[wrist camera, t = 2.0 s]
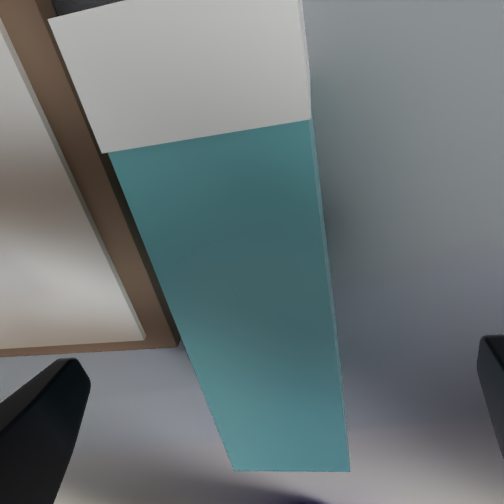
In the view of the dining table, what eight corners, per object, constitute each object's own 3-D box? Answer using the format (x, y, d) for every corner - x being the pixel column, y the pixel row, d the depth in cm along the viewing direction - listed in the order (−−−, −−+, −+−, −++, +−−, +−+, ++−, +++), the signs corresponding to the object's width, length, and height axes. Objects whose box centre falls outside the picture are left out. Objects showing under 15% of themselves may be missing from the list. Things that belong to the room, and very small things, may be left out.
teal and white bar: (343, 375, 14) (352, 475, 11) (246, 378, 15) (232, 474, 12) (298, -34, 8) (292, -41, 5) (133, 4, 9) (47, 19, 6)
